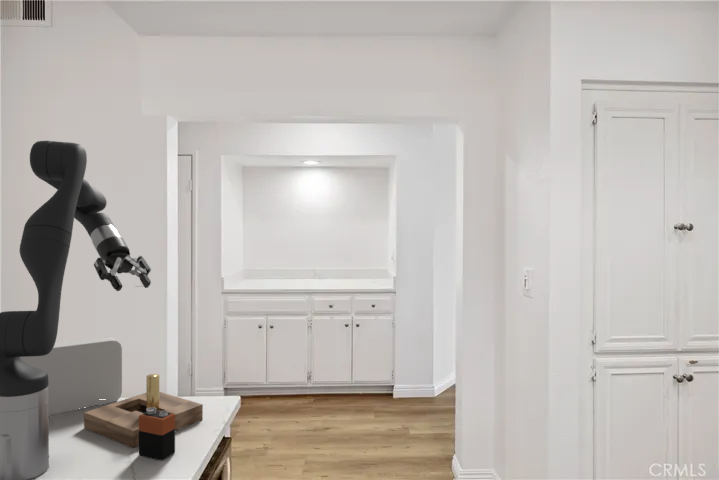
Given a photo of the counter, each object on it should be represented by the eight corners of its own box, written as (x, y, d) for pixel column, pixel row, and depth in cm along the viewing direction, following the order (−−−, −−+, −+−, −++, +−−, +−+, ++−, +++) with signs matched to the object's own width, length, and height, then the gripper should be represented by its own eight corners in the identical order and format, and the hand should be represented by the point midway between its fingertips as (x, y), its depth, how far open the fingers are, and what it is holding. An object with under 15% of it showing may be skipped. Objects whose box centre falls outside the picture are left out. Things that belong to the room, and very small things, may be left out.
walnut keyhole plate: (133, 448, 113) (133, 430, 113) (84, 428, 124) (84, 412, 124) (202, 419, 131) (202, 404, 130) (153, 404, 141) (153, 390, 141)
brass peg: (150, 432, 122) (150, 380, 122) (137, 428, 125) (137, 376, 124) (168, 425, 126) (168, 374, 126) (155, 421, 129) (155, 371, 129)
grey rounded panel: (115, 393, 149) (115, 334, 148) (122, 401, 143) (122, 339, 143) (-3, 416, 131) (-3, 348, 130) (0, 425, 125) (-1, 354, 124)
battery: (152, 447, 114) (152, 404, 114) (176, 452, 112) (176, 409, 111) (137, 455, 110) (137, 411, 110) (161, 461, 107) (162, 415, 107)
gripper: (90, 235, 134) (115, 280, 129) (137, 235, 147) (162, 276, 141) (79, 254, 137) (104, 299, 132) (126, 252, 150) (151, 293, 144)
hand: (134, 287), depth 136 cm, fingers open, 8 cm apart
